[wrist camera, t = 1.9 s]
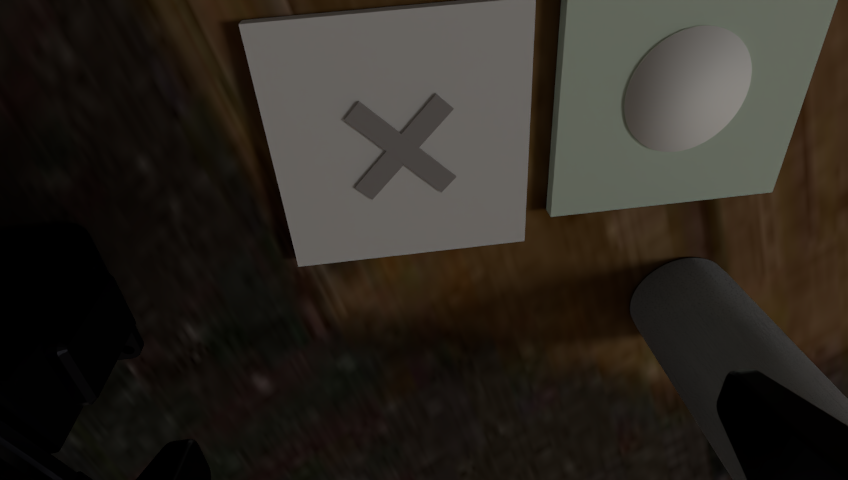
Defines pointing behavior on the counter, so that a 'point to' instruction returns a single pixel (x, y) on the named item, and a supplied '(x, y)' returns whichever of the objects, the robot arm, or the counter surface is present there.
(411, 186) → the pad
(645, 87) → the pad
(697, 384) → the grey cylinder
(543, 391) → the counter surface
